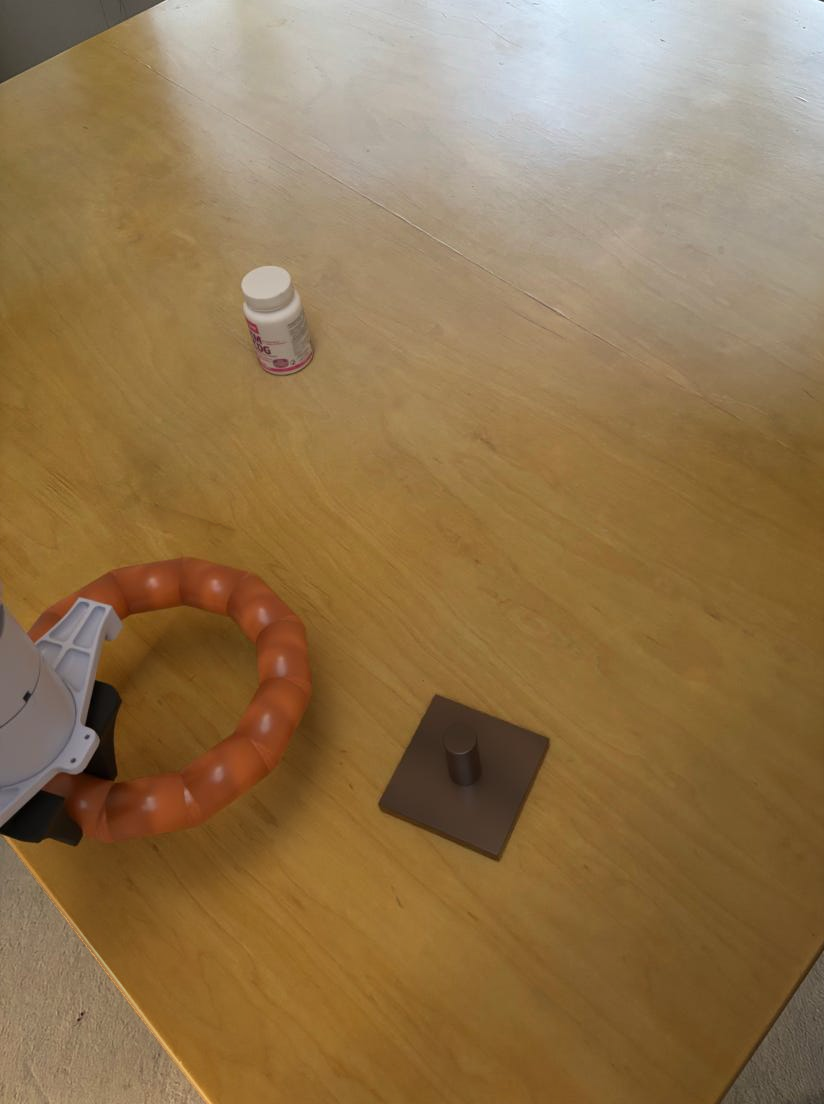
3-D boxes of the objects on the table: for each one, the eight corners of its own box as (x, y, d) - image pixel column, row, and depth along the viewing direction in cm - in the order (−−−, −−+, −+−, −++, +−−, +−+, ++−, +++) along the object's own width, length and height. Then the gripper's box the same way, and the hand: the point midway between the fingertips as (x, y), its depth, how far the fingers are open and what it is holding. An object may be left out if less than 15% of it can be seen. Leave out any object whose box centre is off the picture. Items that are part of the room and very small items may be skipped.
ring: (223, 892, 55) (210, 866, 53) (-66, 793, 59) (-88, 766, 57) (360, 618, 67) (355, 589, 65) (110, 553, 71) (98, 523, 69)
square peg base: (498, 862, 63) (494, 827, 59) (379, 810, 66) (367, 772, 61) (550, 745, 68) (549, 704, 63) (436, 700, 70) (428, 658, 66)
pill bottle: (248, 369, 91) (224, 293, 84) (275, 332, 94) (254, 256, 87) (297, 382, 90) (277, 306, 83) (324, 344, 92) (306, 268, 86)
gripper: (-51, 871, 42) (72, 967, 52) (137, 570, 50) (210, 705, 61) (-195, 818, 43) (-48, 922, 54) (10, 536, 52) (103, 673, 62)
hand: (81, 804), depth 57 cm, fingers closed on ring, 3 cm apart
